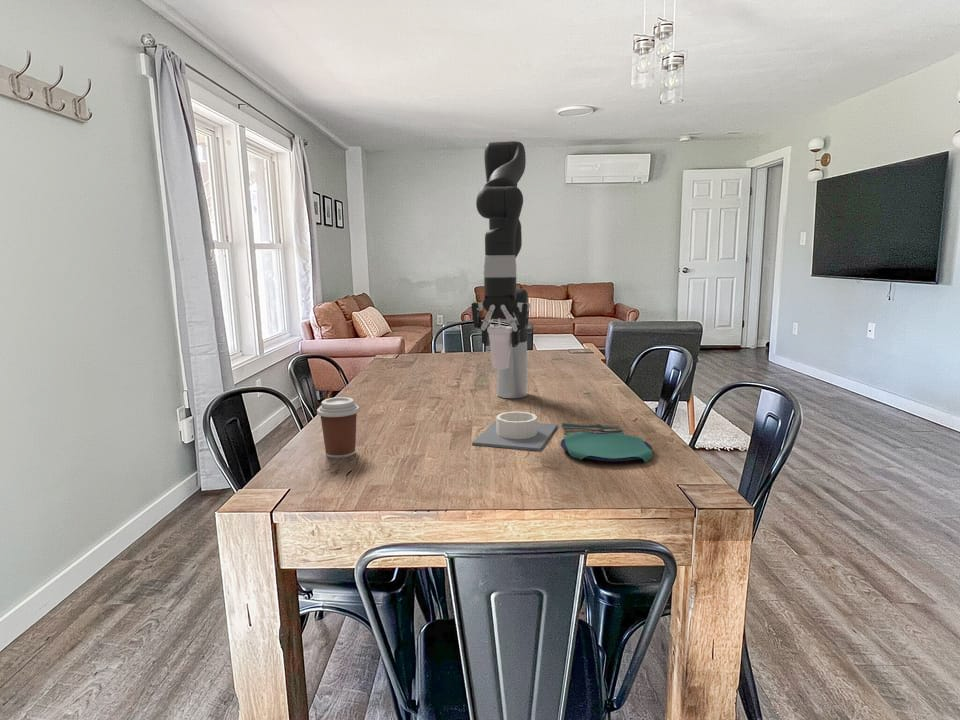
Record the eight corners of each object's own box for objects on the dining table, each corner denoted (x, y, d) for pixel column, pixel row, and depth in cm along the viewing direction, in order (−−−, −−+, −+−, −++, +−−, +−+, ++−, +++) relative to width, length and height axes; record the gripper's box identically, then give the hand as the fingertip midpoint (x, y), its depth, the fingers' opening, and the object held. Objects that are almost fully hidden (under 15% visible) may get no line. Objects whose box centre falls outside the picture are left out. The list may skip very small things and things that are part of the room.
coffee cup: (344, 444, 135) (341, 394, 133) (370, 452, 129) (367, 399, 127) (310, 454, 128) (307, 401, 126) (336, 463, 122) (333, 408, 120)
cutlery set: (564, 467, 119) (564, 456, 119) (553, 428, 149) (554, 419, 148) (662, 469, 118) (663, 458, 118) (632, 429, 148) (632, 420, 147)
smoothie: (482, 368, 138) (481, 309, 135) (494, 364, 143) (494, 307, 141) (506, 371, 135) (506, 310, 132) (518, 366, 140) (518, 308, 138)
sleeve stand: (496, 421, 152) (496, 404, 152) (557, 426, 147) (557, 409, 147) (472, 444, 134) (471, 425, 133) (540, 451, 129) (540, 431, 128)
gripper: (534, 274, 136) (534, 345, 139) (476, 275, 141) (477, 343, 144) (525, 275, 129) (525, 350, 132) (465, 275, 134) (466, 347, 137)
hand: (500, 346), depth 138 cm, fingers closed on smoothie, 6 cm apart
